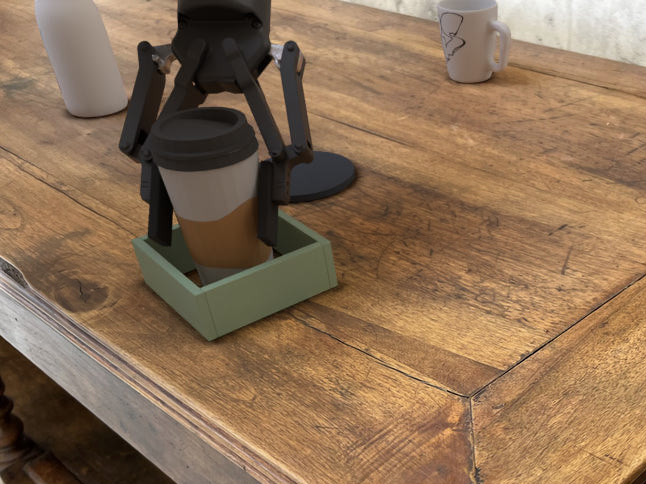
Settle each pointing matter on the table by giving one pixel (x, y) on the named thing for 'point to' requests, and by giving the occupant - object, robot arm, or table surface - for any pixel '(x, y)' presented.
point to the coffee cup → (213, 187)
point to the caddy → (239, 279)
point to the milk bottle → (81, 56)
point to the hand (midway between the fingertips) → (213, 241)
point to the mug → (472, 39)
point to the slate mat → (320, 176)
